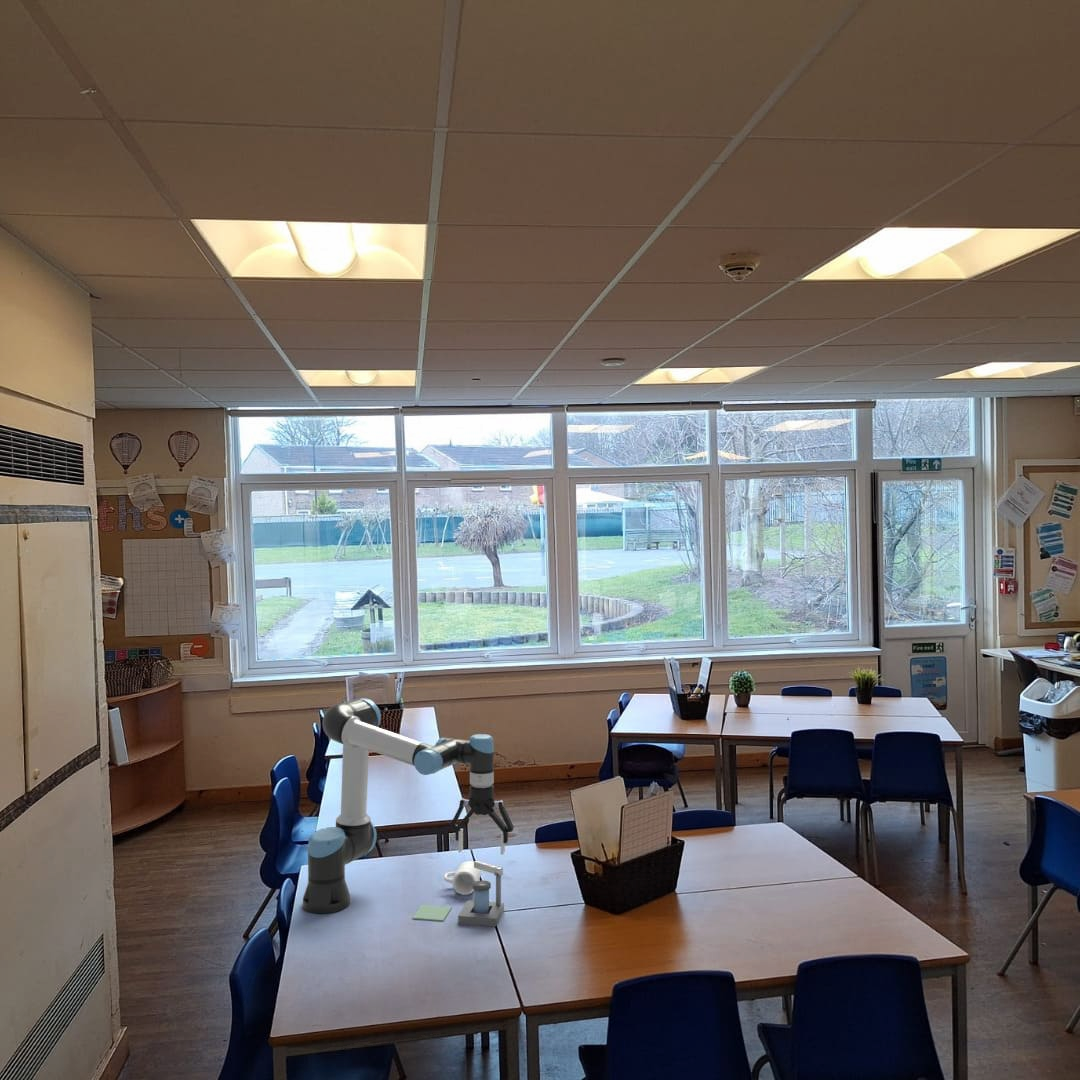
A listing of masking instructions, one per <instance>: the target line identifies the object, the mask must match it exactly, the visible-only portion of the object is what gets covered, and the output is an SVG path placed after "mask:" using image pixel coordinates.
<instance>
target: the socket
mask: <svg viewBox="0 0 1080 1080" xmlns="http://www.w3.org/2000/svg"><path fill="white" fill-rule="evenodd" d="M504 910H505V903H504V902H502V875H501V876H495V902H494V901H489V914H484V913H474V900H467V901H466V903H465V904H464V906H463V907H462V909H461V910H460V912H459V913H458V917H457V924H459V925H469V926H470V925H471V926H482V925H483V926H484V927H495V928H496V927H497V926H498V923H499V922H500V919H501V917H502V916H503V914H504Z"/></svg>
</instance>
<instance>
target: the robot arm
mask: <svg viewBox="0 0 1080 1080" xmlns="http://www.w3.org/2000/svg"><path fill="white" fill-rule="evenodd" d="M381 721H382V713H381V710H380V708H379V707H378V705H376V703H375V702H374V701H373V700H372V699H369V698H366V697H365V698H364V697H361V698H354V699H351V700H349V701H345V702H341V703H337V704H334V705H332V706H331V707H329V708H328V709H327V710H326V712H325V714H324V715H323V718H322V729H323V732H324V733H325V735H326V736H327V737H328V738H329V739H331V740H332V741H334V742H337V743H338V744H342V765H341V766H342V768H341V769H342V770H341V771H342V772H341V795H340V796H341V798H340V799H341V800H340V814H339V815H338V816H337V817H336V819H335V826H330V827H329V826H327V827H326V828H320V829H318V830H316V831H314V832H313V833H311V835H310V836H309V838H308V845H307V868H308V869H307V872H308V874H307V875H308V877H307V878H308V879H307V885H306V887H305V892H304V895H303V897H302V908H303V910H304V911H306V912H308V913H312V914H332V913H337V912H339V911H343V910H344V909H346V908H347V907H348V906H350V904H351V894H350V891H349V888H348V884H347V882H346V877H345V876H346V865H348V864H349V863H351V862H353V861H355V860H357V859H359V858H363V857H364V856H366V855H367V854H369V852H371V851H372V850H373V849H374V847H375V845H376V843H377V839H378V838H377V834H378V833H377V830H376V827H375V826H374V823H373V822H372V821H371V820H372V818H371V816H370V815H369V814H368V813H367V810H368V809H367V808H368V807H367V804H368V802H367V801H368V783H369V781H368V777H369V775H368V774H369V755H370V754H369V752H374V753H376V754H380V755H382V756H384V757H386V758H387V757H388V758H390V759H393V760H396V761H399V762H402V763H405V764H407V765H410V766H413V767H414V769H415V770H417V772H418V773H419V774H420V775H423V776H429V775H432V774H436V773H437V772H439V771H441V770H443V769H446V768H448V767H450V766H453V765H455V764H459V765H469V784H470V786H469V799H466V798H465V797H462V798H461V799H460V800H459V806H458V808H457V810H456V812H455V815H454V817H453V818H452V821H451V822H450V825H449V828H450V829H451V830H452V829H453V830H454V831H455V840H456V841H458V853H461V852H462V851H463V850H464V828H462V827H463V826H464V825H465V823H467V821H468V820H469V819H470V817H472V815H473V814H475V815H476V816H479V815H483V816H487V815H488V816H489V817H490V818H491V819H492V820H493V822H495V825H496V826H497V827H498V828H499V829H500V831H501V833H500V855H501V856H503V855H504V854H505V852H506V851H505V850H506V848H505V847H506V844H508V842H509V833H511V832H513V830H514V829H515V827H514V824H513V822H512V820H511V818H510V816H509V814H508V812H507V810H506V807H505V802H504V800H503V799H500V800H498V801H497V800H495V798H494V795H495V794H494V793H495V791H494V790H495V788H494V785H493V784H494V783H495V780H494V779H495V777H494V776H495V775H494V774H495V773H494V772H495V769H494V759H495V758H494V756H495V748H494V738H493V736H491V735H490V734H484V733H483V734H482V733H477V734H473V735H471V736H470V737H469V739H461V738H453V737H440V738H439V739H438V740H437V741H436V742H435V744H434V745H430V744H428V743H424V742H423V741H419V740H416V739H413V738H410V737H407V736H405V735H401V734H400V733H396V732H393V731H390V730H387V729H384V728H381V727H379V726H380V724H381ZM467 805H468V806H469V807H470V810H469V811H468V813H467V814H466V815H465V816H464V817H463V819H462V820H461V821H460V822H459V823H458V824H457V822H458V820H459V819H460V817H461V814H462V813H463V810H464V808H465V807H467ZM495 806H496V809H498V810H499V811H498V812H499V813H500V815H501V817H502V819H503V820H502V819H501V817H500V816H499V815H498V814H497V812H496V810H495V809H494V807H495Z"/></svg>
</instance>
